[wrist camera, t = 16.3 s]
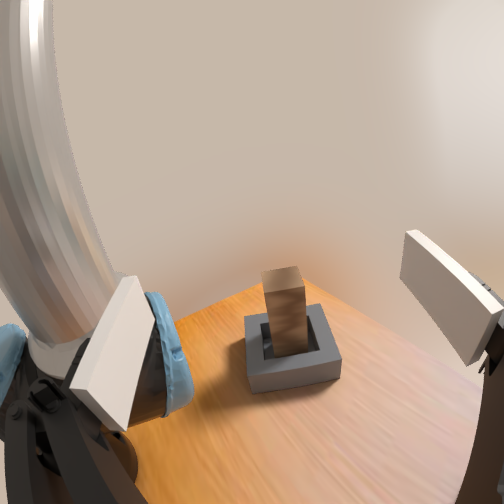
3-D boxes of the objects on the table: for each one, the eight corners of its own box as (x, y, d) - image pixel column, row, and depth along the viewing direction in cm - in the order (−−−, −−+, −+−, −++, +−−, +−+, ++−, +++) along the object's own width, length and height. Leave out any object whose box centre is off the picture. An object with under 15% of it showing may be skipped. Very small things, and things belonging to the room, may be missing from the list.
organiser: (252, 393, 37) (247, 376, 35) (248, 335, 49) (244, 316, 47) (339, 378, 37) (341, 359, 35) (320, 322, 49) (320, 303, 47)
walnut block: (276, 366, 40) (264, 292, 34) (272, 343, 45) (260, 272, 38) (308, 360, 40) (304, 286, 34) (302, 338, 45) (297, 265, 38)
